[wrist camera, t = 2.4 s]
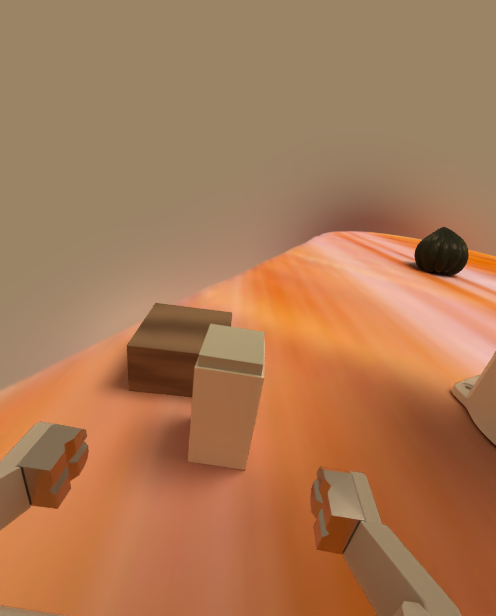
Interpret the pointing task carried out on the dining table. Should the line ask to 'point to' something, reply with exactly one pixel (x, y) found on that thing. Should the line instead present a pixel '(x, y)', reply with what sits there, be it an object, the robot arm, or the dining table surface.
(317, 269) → the dining table surface
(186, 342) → the walnut block
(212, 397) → the tall cream box
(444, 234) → the squash
